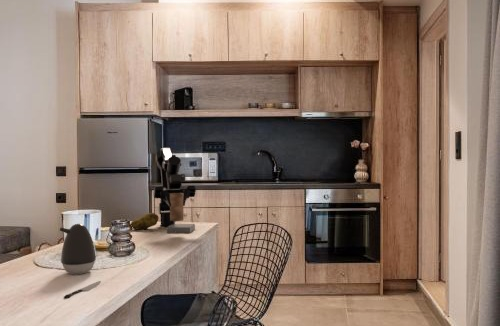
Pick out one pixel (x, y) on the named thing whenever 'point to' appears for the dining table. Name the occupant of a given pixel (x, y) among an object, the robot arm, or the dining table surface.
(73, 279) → the dining table surface
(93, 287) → the chef's knife
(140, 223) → the green bumpy oblong piece
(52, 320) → the dining table surface
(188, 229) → the slate base
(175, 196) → the walnut cylinder
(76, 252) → the pump dispenser
